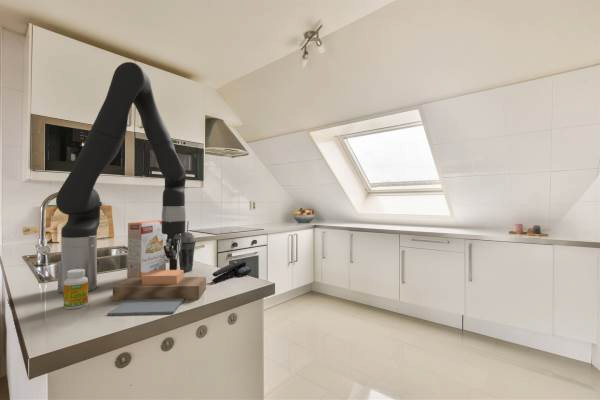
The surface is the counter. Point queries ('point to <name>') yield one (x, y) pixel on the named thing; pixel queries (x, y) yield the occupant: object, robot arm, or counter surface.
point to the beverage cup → (187, 251)
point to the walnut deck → (160, 289)
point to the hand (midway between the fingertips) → (173, 270)
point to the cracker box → (145, 248)
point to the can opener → (231, 271)
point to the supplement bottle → (75, 289)
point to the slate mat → (147, 306)
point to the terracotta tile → (163, 277)
